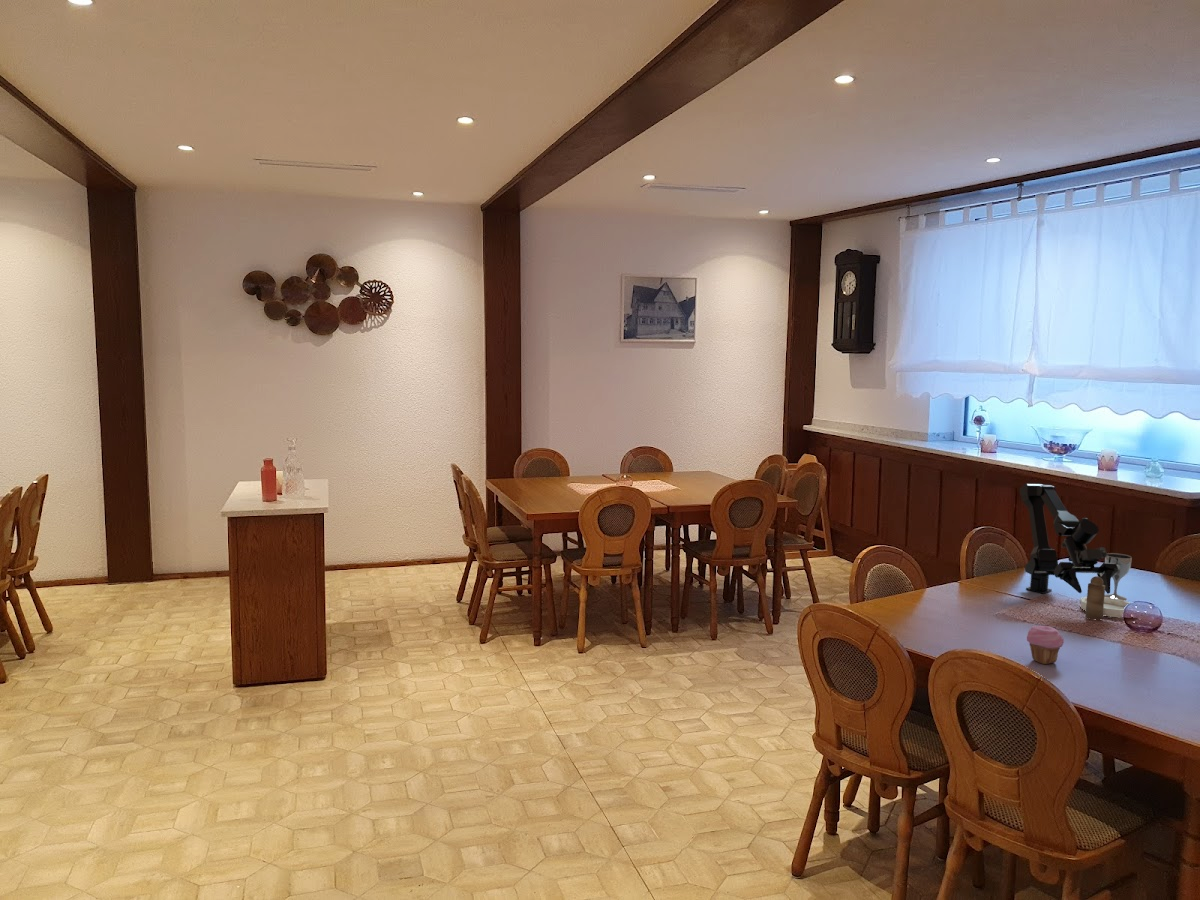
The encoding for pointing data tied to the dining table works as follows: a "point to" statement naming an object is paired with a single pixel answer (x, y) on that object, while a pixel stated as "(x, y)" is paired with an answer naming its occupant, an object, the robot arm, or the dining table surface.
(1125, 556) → the wine glass
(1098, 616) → the pepper mill
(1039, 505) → the robot arm
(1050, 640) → the cupcake
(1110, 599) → the dish
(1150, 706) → the dining table surface
